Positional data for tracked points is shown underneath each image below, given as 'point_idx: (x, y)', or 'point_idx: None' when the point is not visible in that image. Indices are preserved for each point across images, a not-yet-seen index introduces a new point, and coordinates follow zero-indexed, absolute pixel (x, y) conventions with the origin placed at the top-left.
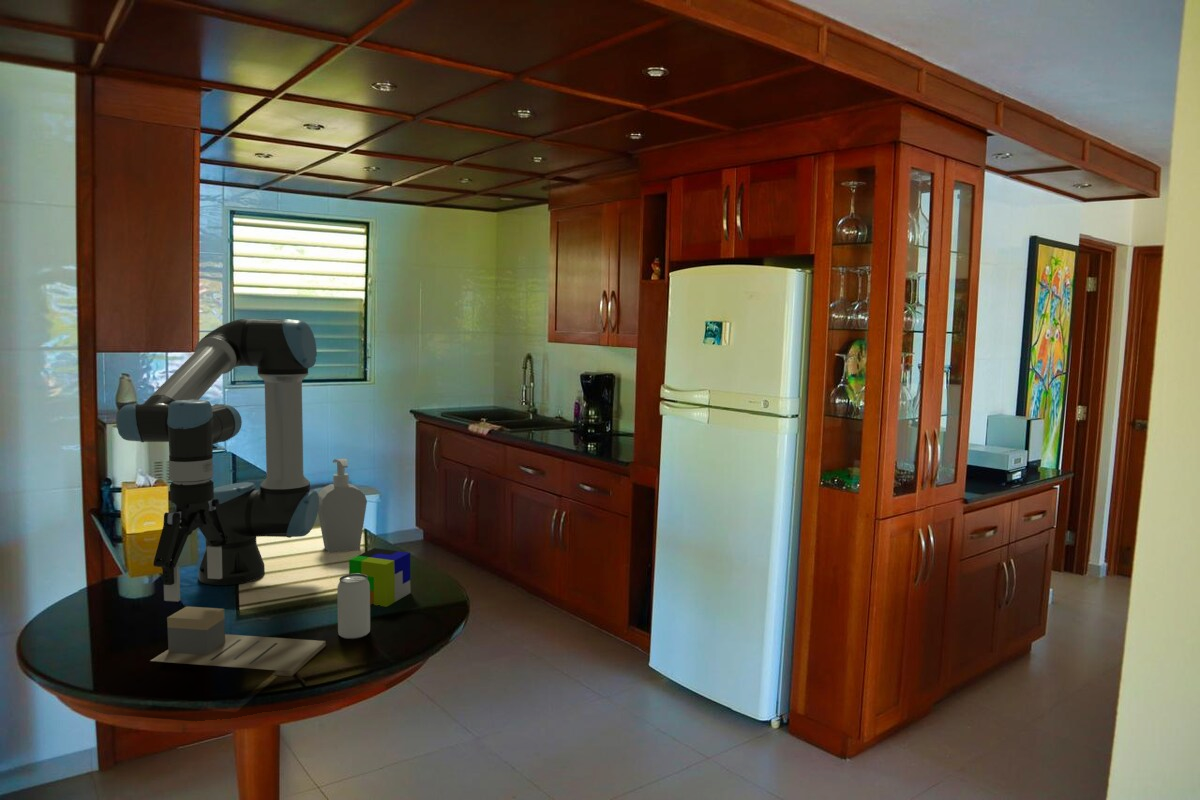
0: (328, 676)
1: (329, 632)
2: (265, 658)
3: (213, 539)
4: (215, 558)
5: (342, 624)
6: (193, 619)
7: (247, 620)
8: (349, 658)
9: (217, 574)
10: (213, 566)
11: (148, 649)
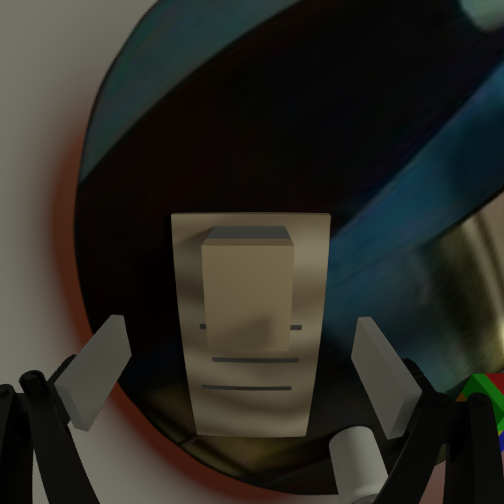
0: (211, 456)
1: (356, 414)
2: (227, 397)
3: (400, 454)
4: (377, 391)
5: (335, 452)
6: (206, 318)
7: (416, 269)
8: (266, 459)
9: (356, 359)
10: (369, 363)
11: (249, 153)
